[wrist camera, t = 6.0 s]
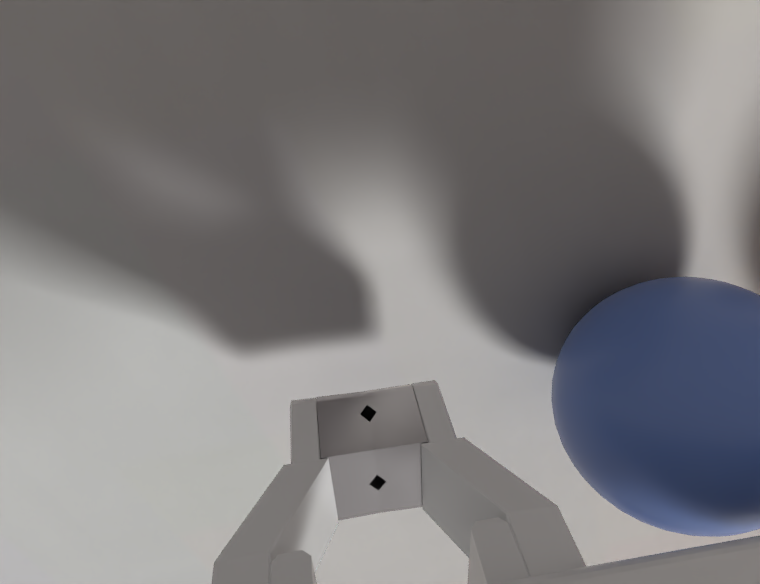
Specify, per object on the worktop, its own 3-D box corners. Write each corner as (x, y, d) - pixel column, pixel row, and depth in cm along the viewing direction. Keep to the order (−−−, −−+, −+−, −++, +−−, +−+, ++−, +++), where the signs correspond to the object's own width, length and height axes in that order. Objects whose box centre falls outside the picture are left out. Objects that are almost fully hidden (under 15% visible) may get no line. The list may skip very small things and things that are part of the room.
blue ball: (641, 417, 8) (532, 243, 12) (589, 605, 10) (515, 411, 15) (991, 381, 8) (761, 222, 12) (848, 576, 11) (701, 392, 15)
